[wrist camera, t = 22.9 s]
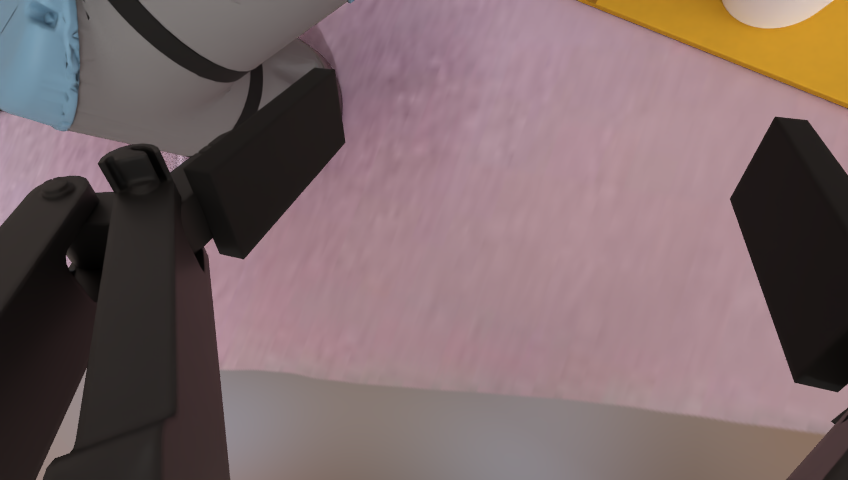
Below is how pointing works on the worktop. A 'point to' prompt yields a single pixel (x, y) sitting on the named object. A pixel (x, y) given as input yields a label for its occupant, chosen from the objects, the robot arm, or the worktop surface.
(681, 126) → the worktop surface
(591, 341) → the worktop surface
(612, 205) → the worktop surface
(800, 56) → the towel
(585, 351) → the worktop surface
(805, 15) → the cup
